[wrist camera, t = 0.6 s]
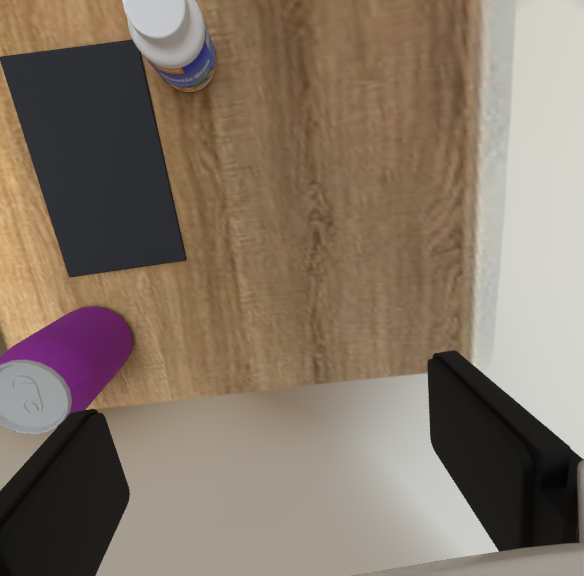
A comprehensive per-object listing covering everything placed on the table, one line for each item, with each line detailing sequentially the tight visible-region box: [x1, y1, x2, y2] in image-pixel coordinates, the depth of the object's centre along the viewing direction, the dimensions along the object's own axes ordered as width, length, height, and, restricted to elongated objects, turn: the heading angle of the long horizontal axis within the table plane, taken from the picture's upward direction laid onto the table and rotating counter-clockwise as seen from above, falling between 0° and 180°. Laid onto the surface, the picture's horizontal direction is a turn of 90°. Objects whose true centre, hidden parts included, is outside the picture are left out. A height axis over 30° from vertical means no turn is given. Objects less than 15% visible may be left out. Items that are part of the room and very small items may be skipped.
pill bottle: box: [123, 0, 216, 92], centre depth 27 cm, size 5×5×10 cm
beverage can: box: [0, 306, 133, 434], centre depth 32 cm, size 8×8×12 cm
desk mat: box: [0, 40, 186, 277], centre depth 33 cm, size 20×12×1 cm, turn 8°
